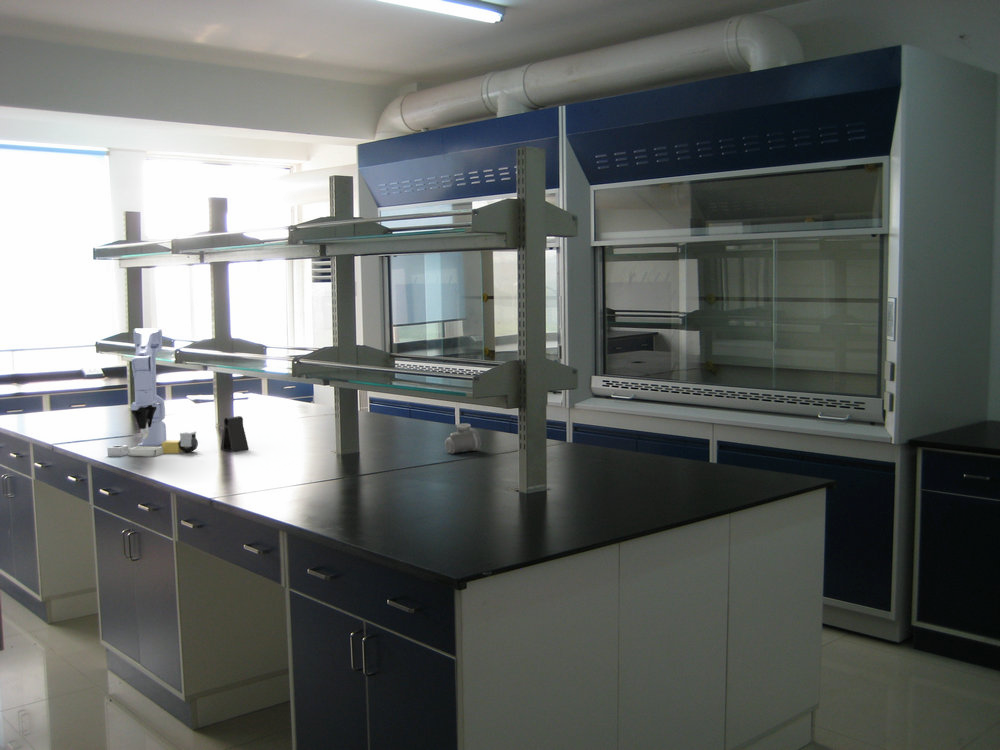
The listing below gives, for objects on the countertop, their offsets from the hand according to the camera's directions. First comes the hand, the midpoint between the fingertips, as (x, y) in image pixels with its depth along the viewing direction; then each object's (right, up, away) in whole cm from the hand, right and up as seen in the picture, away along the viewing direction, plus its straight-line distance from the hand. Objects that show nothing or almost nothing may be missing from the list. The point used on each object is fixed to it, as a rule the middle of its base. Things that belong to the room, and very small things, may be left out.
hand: (145, 427), depth 319 cm
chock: (+8, -9, +6) cm, 13 cm away
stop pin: (0, -4, 0) cm, 4 cm away
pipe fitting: (+112, -9, +2) cm, 113 cm away
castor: (+14, -9, +5) cm, 17 cm away
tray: (0, -10, +1) cm, 10 cm away
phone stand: (+29, -9, +10) cm, 32 cm away
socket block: (-10, -10, +1) cm, 14 cm away
